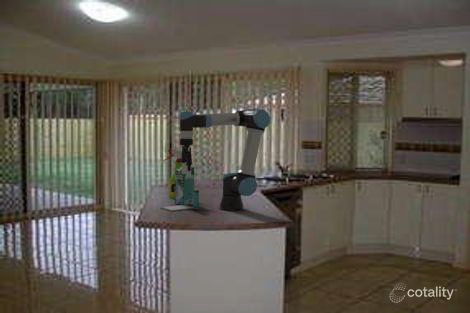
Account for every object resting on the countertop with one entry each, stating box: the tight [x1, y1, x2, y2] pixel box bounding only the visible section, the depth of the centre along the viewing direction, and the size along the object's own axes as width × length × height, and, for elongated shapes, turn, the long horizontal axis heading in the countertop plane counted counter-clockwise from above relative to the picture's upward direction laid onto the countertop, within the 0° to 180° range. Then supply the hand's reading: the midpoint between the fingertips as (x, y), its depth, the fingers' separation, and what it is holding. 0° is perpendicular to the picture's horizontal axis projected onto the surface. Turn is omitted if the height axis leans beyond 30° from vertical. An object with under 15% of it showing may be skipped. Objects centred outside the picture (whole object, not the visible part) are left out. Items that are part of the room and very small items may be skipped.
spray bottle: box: [163, 148, 182, 200], centre depth 366 cm, size 14×18×35 cm
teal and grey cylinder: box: [192, 189, 200, 211], centre depth 316 cm, size 4×4×13 cm
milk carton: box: [174, 166, 195, 206], centre depth 339 cm, size 9×9×25 cm
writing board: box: [159, 204, 193, 212], centre depth 321 cm, size 18×13×1 cm
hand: (186, 175), depth 291 cm, fingers open, 13 cm apart
